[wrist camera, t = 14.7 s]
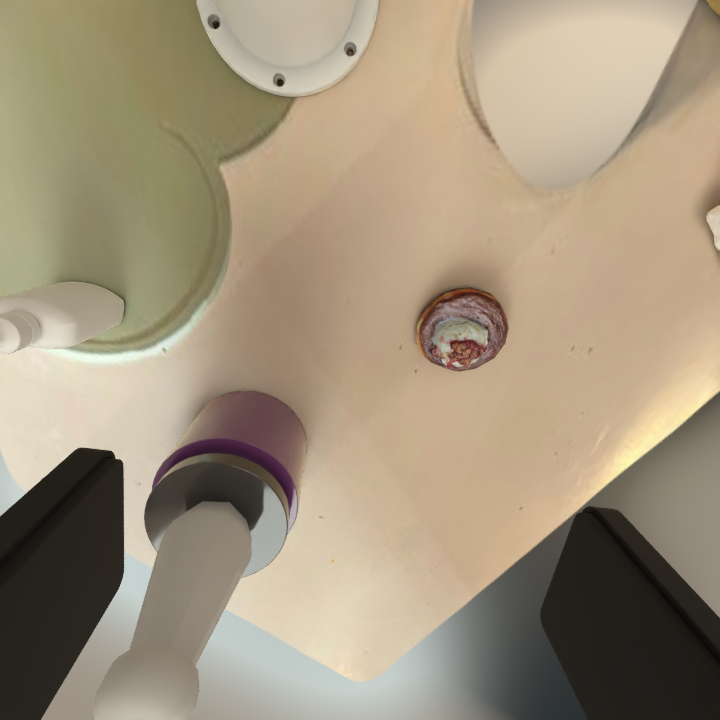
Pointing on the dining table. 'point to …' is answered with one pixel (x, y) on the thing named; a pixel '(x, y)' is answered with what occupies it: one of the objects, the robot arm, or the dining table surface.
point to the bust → (715, 224)
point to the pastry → (462, 329)
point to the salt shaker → (177, 616)
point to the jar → (235, 470)
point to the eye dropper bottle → (57, 316)
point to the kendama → (714, 5)
